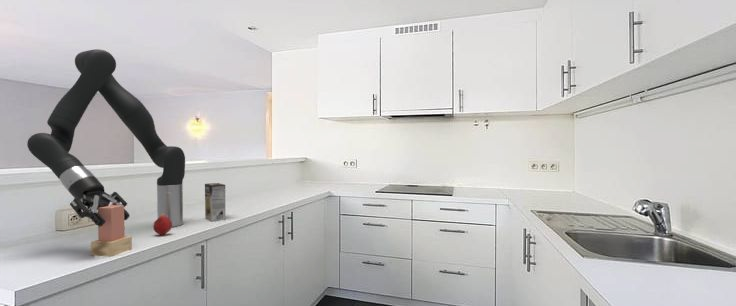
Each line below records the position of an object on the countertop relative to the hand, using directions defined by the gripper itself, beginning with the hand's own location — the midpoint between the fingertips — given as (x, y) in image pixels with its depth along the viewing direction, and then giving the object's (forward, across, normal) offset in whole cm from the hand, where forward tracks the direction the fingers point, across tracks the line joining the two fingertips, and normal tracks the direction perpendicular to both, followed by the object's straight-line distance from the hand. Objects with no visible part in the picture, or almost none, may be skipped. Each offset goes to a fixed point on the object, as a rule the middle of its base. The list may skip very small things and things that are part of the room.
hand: (115, 221), depth 101 cm
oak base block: (+6, 0, +8) cm, 10 cm away
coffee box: (+8, +50, +6) cm, 51 cm away
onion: (+6, +21, +8) cm, 23 cm away
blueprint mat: (+3, 0, +12) cm, 12 cm away
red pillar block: (+3, 0, +5) cm, 6 cm away
